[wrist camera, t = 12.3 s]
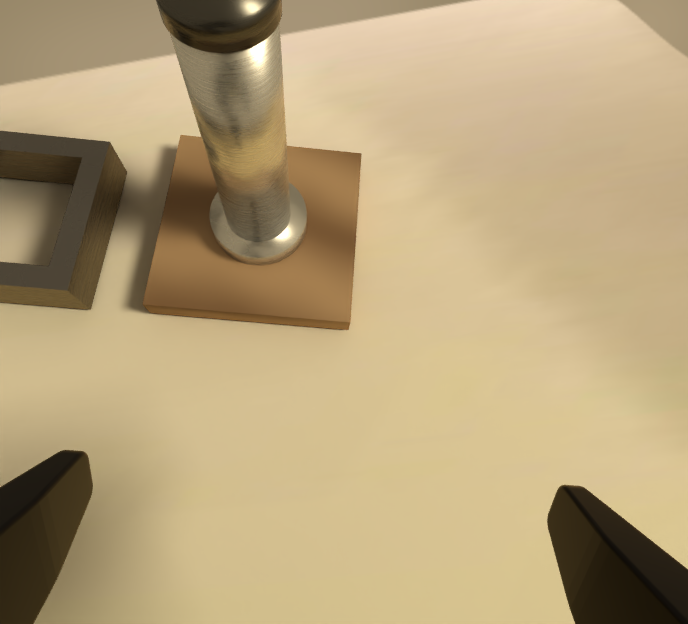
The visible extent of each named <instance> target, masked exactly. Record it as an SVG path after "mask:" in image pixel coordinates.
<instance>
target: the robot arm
mask: <svg viewBox="0 0 688 624" xmlns="http://www.w3.org/2000/svg"><path fill="white" fill-rule="evenodd" d="M92 490H93V482H92V476H91V470H90V464H89V458H88V455H87V454H86V453H85V452H83V451H73V450H63V451H60V452H58V453H56V454H55V455H53V456H51V457H50V458H48V459H46V460H45V461H43V462H41V463H40V464H38V465H36V466H35V467H33V468H31V469H30V470H28V471H26V472H25V473H23V474H22V475H20V476H18V477H17V478H15V479H13V480H12V481H10V482H8V483H7V484H5V485H3V486H2V487H0V624H33V623H34V621H35V620H36V618H37V616H38V614H39V612H40V610H41V608H42V606H43V605H44V603H45V601H46V599H47V597H48V595H49V593H50V591H51V589H52V587H53V585H54V584H55V582H56V580H57V577H58V575H59V573H60V571H61V568H62V566H63V564H64V561H65V559H66V556H67V554H68V552H69V549H70V547H71V544H72V542H73V539H74V537H75V534H76V532H77V530H78V527H79V525H80V522H81V520H82V517H83V515H84V513H85V510H86V508H87V505H88V503H89V500H90V498H91V495H92ZM547 523H548V529H549V533H550V537H551V541H552V545H553V548H554V552H555V556H556V559H557V563H558V567H559V571H560V574H561V578H562V582H563V586H564V589H565V593H566V597H567V600H568V604H569V607H570V610H571V613H572V616H573V619H574V621H575V624H688V569H687V568H685V567H684V566H683V565H682V564H680V563H679V562H678V561H677V560H675V559H674V558H673V557H671V556H670V555H669V554H668V553H666V552H665V551H664V550H663V549H661V548H660V547H659V546H658V545H656V544H655V543H654V542H653V541H651V540H650V539H649V538H647V537H646V536H645V535H644V534H642V533H641V532H640V531H639V530H637V529H636V528H635V527H634V526H632V525H631V524H630V523H628V522H627V521H626V520H625V519H623V518H622V517H621V516H620V515H618V514H617V513H616V512H615V511H613V510H612V509H611V508H610V507H608V506H607V505H606V504H604V503H603V502H602V501H601V500H599V499H598V498H597V497H596V496H594V495H593V494H592V493H591V492H589V491H588V490H587V489H585V488H584V487H581V486H573V485H562V486H560V487H559V488H558V490H557V492H556V495H555V498H554V500H553V503H552V505H551V508H550V511H549V513H548V519H547Z"/></svg>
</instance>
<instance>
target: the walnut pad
mask: <svg viewBox="0 0 688 624" xmlns="http://www.w3.org/2000/svg"><path fill="white" fill-rule="evenodd" d="M287 158H288V175H289V182H290V183H291V184H292V185H293V186H294V187H295V188H296V189H297V190H298V191H299V192H300V194H301V195H302V197H303V199H304V202H305V205H306V211H307V228H306V234H305V237H304V239H303V241H302V243H301V245H300V246H299V247H298V249H297V250H296V251H295V252H294V253H293V254H291V255H290V256H289V257H287V258H286V259H284V260H282V261H280V262H277V263H274V264H270V265H262V266H256V265H248V264H244V263H241V262H239V261H237V260H235V259H233V258H231V257H230V256H229V255H227V254H226V253H225V252H224V251H223V250H222V249H221V247H220V246H219V244H218V242H217V241H216V238H215V236H214V233H213V230H212V227H211V224H210V207H211V204H212V201H213V199H214V197H215V195H216V194H217V192H218V190H217V187H216V183H215V180H214V177H213V174H212V170H211V167H210V164H209V160H208V157H207V154H206V150H205V147H204V144H203V141H202V137H195V136H185V135H181V136H180V140H179V145H178V149H177V154H176V158H175V162H174V167H173V171H172V176H171V180H170V185H169V189H168V193H167V198H166V202H165V207H164V211H163V216H162V220H161V224H160V229H159V233H158V238H157V242H156V247H155V251H154V255H153V260H152V264H151V269H150V273H149V277H148V282H147V286H146V291H145V295H144V300H143V306H144V307H145V308H146V309H147V310H148V311H149V312H150V313H158V314H169V315H181V316H193V317H204V318H216V319H228V320H239V321H251V322H263V323H274V324H286V325H297V326H309V327H321V328H332V329H344V330H348V329H349V325H350V319H351V304H352V289H353V274H354V258H355V243H356V228H357V213H358V197H359V182H360V167H361V153H351V152H341V151H331V150H322V149H312V148H302V147H292V146H287Z"/></svg>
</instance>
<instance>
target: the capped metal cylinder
mask: <svg viewBox="0 0 688 624" xmlns="http://www.w3.org/2000/svg"><path fill="white" fill-rule="evenodd" d="M156 1H157V5H158V8H159V11H160V14H161V17H162V20H163V23H164V25H165V26H166V28H167V30H168V31H169V32H170V35H171V38H172V41H173V44H174V48H175V51H176V55H177V58H178V61H179V65H180V68H181V71H182V74H183V78H184V81H185V84H186V88H187V91H188V94H189V98H190V101H191V104H192V107H193V111H194V114H195V117H196V121H197V124H198V127H199V131H200V134H201V137H202V141H203V144H204V147H205V150H206V154H207V157H208V160H209V164H210V167H211V170H212V174H213V177H214V180H215V183H216V187H217V190H218V192H217V194H216V195H215V197H214V199H213V201H212V204H211V207H210V224H211V227H212V230H213V233H214V236H215V238H216V241H217V242H218V244H219V246H220V247H221V249H222V250H223V251H224V252H225V253H226V254H227V255H229V256H230V257H231V258H233V259H235V260H237V261H239V262H241V263H244V264H248V265H256V266H262V265H270V264H274V263H277V262H280V261H282V260H284V259H286V258H287V257H289V256H290V255H291V254H293V253H294V252H295V251H296V250H297V249H298V247H299V246H300V245H301V243H302V241H303V239H304V237H305V234H306V228H307V211H306V205H305V202H304V199H303V197H302V195H301V194H300V192H299V191H298V190H297V189H296V188H295V187H294V186H293V185H292V184H291V183H290V182H289V175H288V158H287V142H286V125H285V108H284V91H283V74H282V58H281V41H280V24H279V22H280V20H281V16H282V0H156Z"/></svg>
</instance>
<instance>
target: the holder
mask: <svg viewBox="0 0 688 624" xmlns="http://www.w3.org/2000/svg"><path fill="white" fill-rule="evenodd" d="M126 175H127V171H126V169H125V167H124V166H123V164H122V162H121V160H120V159H119V157H118V155H117V153H116V152H115V150H114V148H113V146H112V145H111V143H110V142H106V141H96V140H86V139H76V138H66V137H56V136H46V135H37V134H27V133H17V132H7V131H0V177H6V178H17V179H27V180H37V181H47V182H58V183H68V184H74V186H73V190H72V193H71V196H70V199H69V203H68V206H67V209H66V212H65V216H64V219H63V222H62V226H61V229H60V232H59V235H58V239H57V242H56V245H55V248H54V252H53V255H52V258H51V261H50V265H49V266H41V265H30V264H18V263H7V262H0V302H7V303H18V304H30V305H42V306H54V307H65V308H77V309H89V310H91V307H92V303H93V299H94V295H95V292H96V288H97V284H98V280H99V277H100V273H101V269H102V265H103V261H104V258H105V254H106V250H107V246H108V243H109V239H110V235H111V231H112V227H113V224H114V220H115V216H116V212H117V209H118V205H119V201H120V197H121V193H122V190H123V186H124V182H125V178H126Z"/></svg>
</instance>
